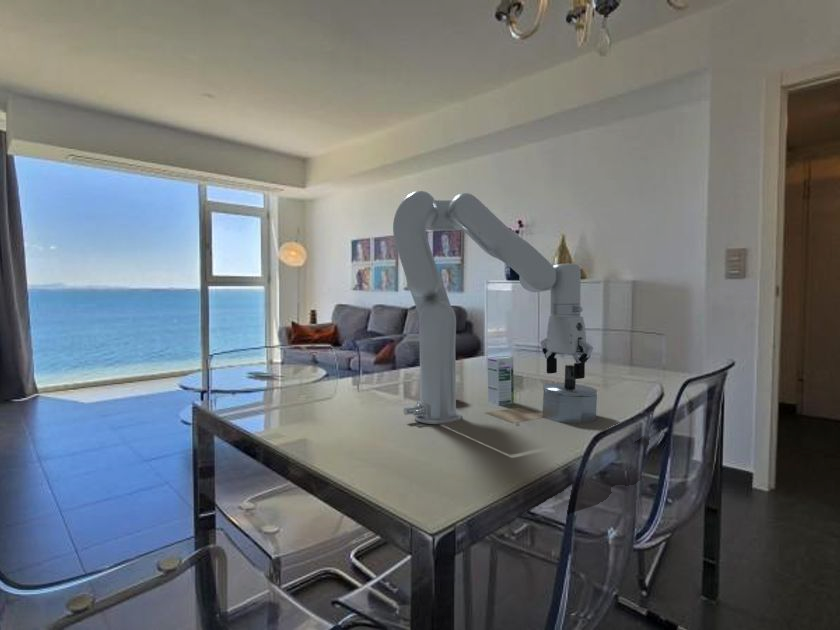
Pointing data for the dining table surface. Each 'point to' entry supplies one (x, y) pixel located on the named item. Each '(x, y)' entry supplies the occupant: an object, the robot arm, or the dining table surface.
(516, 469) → the dining table surface
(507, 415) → the wooden board
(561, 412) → the grey round part
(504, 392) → the syrup box
